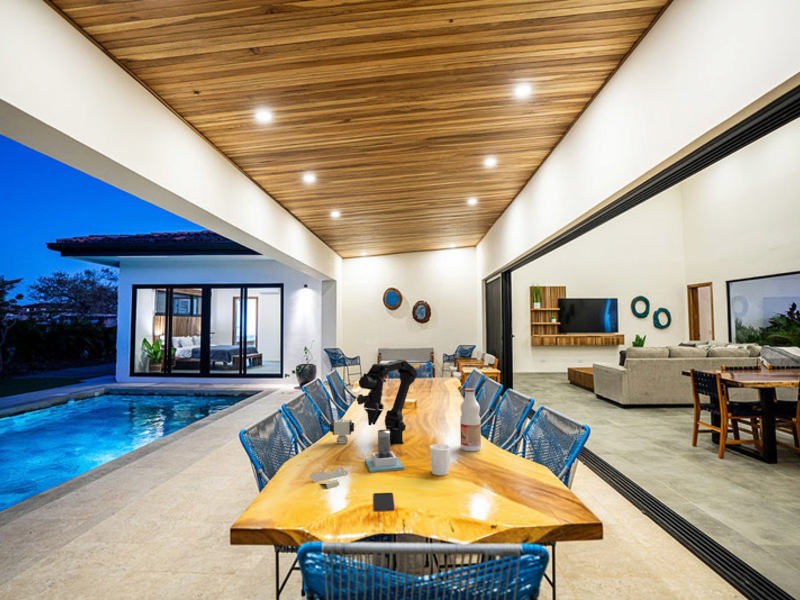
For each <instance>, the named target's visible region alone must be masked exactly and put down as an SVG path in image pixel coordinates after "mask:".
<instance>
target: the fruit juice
mask: <svg viewBox="0 0 800 600" xmlns="http://www.w3.org/2000/svg"><path fill="white" fill-rule="evenodd" d="M464 393H465V395H464V399H463V401H462V402H461V404H460V412H461V415H460V419H459V420H460V421H459V422H460V425H459V426H460V428H459V429H460V449H461V450H462V451H464V452H465V451H466V452H478V451H481V449H482V441H481V440H482V437H481V436H482V431H481V417H480V411H481V406H480V404H479V402H478V401H477V399H476V396H475V393H476V389H475V388H471V387H466V388H464Z"/></svg>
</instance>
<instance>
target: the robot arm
mask: <svg viewBox="0 0 800 600" xmlns="http://www.w3.org/2000/svg"><path fill="white" fill-rule="evenodd" d="M408 362H409V361H407V360H405V359H397V360H395V361H394V360H393V361H391V362H388V363H373V364H372V366H371V367H370V369H369V370H368V372H367V373H363V375H362V376H361V377H360V379H359V380H358V386H359V387H360V388H361V389H364V390H369V392H368V394H367V395H364V394H358V396H357V397H356V402H357V405H359V406H360V405H363V409H364V411H365V412H366V413H367V423H368V425H369V426H372V425H376V423H377V421H378V419H379V418H380V416H381V415H382V412H383V410H384V407H385V405H384V404H383V403H382V397H383V395H384V394H383V388H384V383H386V382H387V380H386V378H385V377H386V376H388V375H390V374H389V373H390V372H393V371H396V370H397V372H398V373H399V381H400V384H399V386H398V389H397V393H396V395H395V399H394V403H393V405H392V408H391V409H387V411H386V413H385V417H384V425H385V430H390V445H402V444H404V441H403V440H404V438H403V434H404V433H403V432H404V431H405V430H406V428H407V427H406V423H404V420H403V419H404V416H403V409H404V406H405V402H406V399H407V396H408V395H407V394H408V393H409V389H410V386H411V385H412V384H413V383H414V382H415V381H416V379H417V376H418V372H417V370H416V368H415V367H414V366H413V365H411V364H410V363H408Z"/></svg>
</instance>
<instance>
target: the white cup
mask: <svg viewBox="0 0 800 600" xmlns="http://www.w3.org/2000/svg"><path fill="white" fill-rule="evenodd" d="M429 450H430V452H429V453H430V454H429V455H430V466H431V473H432V474H433V475H434V476H435V475H436V476H447V475H449V472H450V463H451V462H450V460H451V459H450V457H451V446H449V445H447V444H443V443H434V444H431V445H430V446H429Z"/></svg>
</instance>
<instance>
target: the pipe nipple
mask: <svg viewBox="0 0 800 600" xmlns="http://www.w3.org/2000/svg"><path fill="white" fill-rule="evenodd" d="M390 452H391V444H390V430H386V429H379V430H378V431H377V453H378V459H380V458H390Z"/></svg>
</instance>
